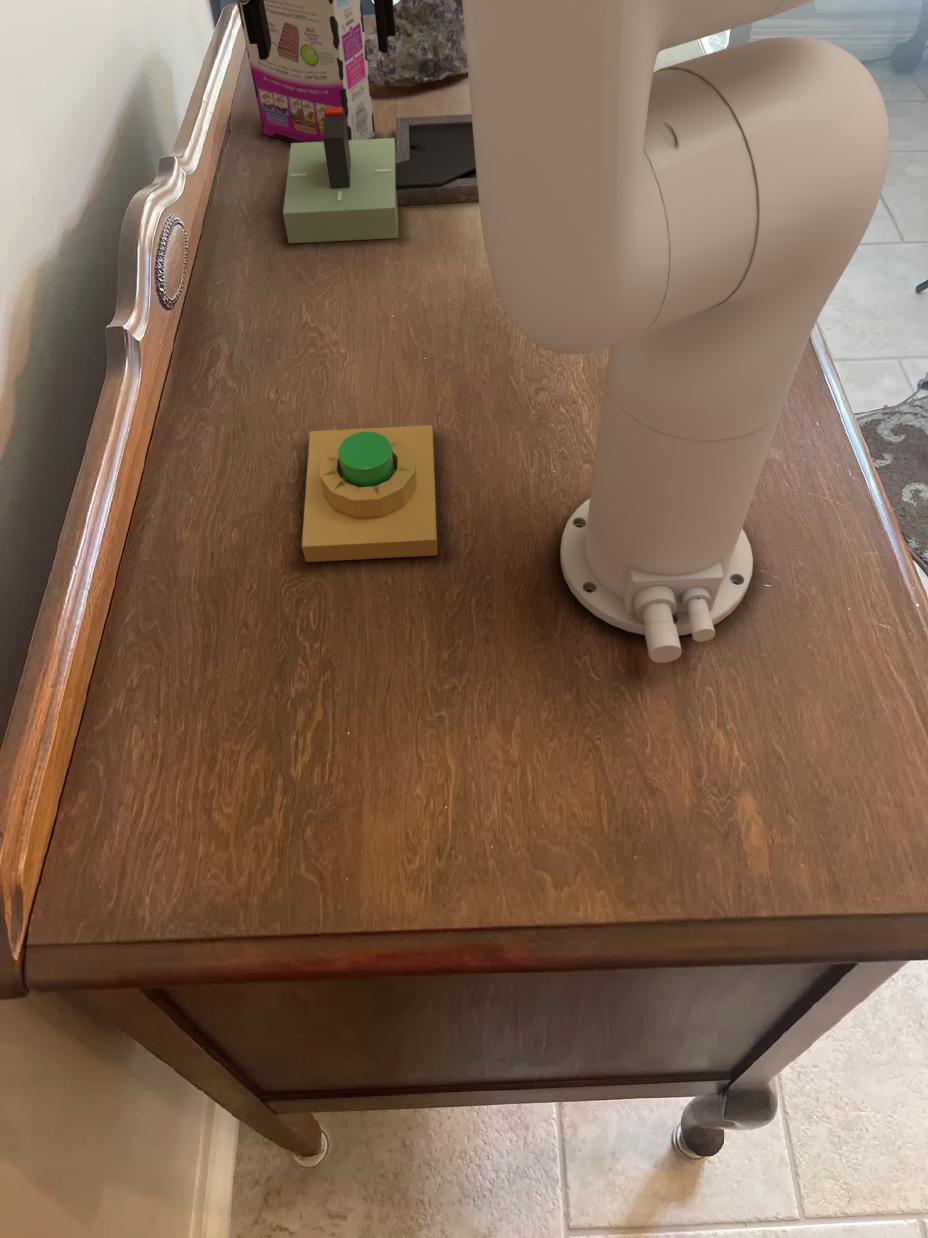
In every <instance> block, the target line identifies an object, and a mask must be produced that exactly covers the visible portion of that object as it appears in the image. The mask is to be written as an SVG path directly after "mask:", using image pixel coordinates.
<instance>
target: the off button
mask: <svg viewBox="0 0 928 1238" xmlns="http://www.w3.org/2000/svg"><path fill="white" fill-rule="evenodd" d="M338 455H339V460H340V466H341V471H342V475H343V477H344V478H345V479H346V480H347V481H348V482H349V483H351V484H353V485H355V486H359V487H372V486H376V485H379V484H381V483H383V482H385V481H386V480H387V479H388V478H389V477H390V476H391V474H392V472H393V469H394V463H393V455H392V447H391V444H390V442H389V441H388V439H387V438H385V437H384V436H383V435H381V434H378V433H375V432H360V433H356V434H353V435H351V436H349V437H348V438H346V439H345V440H344V441H343V442H342V443H341V445H340V447H339V451H338Z"/></svg>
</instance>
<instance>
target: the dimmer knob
mask: <svg viewBox="0 0 928 1238" xmlns="http://www.w3.org/2000/svg"><path fill="white" fill-rule="evenodd" d="M323 142H324V149H325V155H326V162H327V169H328V175H329V182H330V188H345V187H350V171H351V156H350V148H349V140H348V132H347V125H346V117H345V110H344V109H343V108H342V107H331V108H326V110H325V113H324V129H323Z"/></svg>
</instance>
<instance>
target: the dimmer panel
mask: <svg viewBox="0 0 928 1238" xmlns="http://www.w3.org/2000/svg"><path fill="white" fill-rule="evenodd" d="M349 148H350V156H351V171H350V187H345V188H330V182H329V175H328V169H327V162H326V155H325V149H324V142H305V143H295V142H291V143H290V148H289V149H290V150H289V158H288V164H287V165H288V166H287V175H286V183H285V192H284V200H283V207H282V216H283V221H284V226H285V233H286V236H287V241H288V244H308V243H327V242H345V241H347V242H348V241H364V240H365V241H366V240H367V241H368V240H387V239H398V238H399V212H398V211H399V209H398V208H399V207H398V206H399V205H398V202H397V191H396V137H388V138H373V139H365V140H349Z"/></svg>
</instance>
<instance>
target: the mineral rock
mask: <svg viewBox="0 0 928 1238" xmlns="http://www.w3.org/2000/svg"><path fill="white" fill-rule="evenodd" d="M393 6H394V17H395V31H396V36H390V37H388V53H381V51H379V48H378V38H377V28H376V26H375V27H374V28H373V30H372V32H370V33H369V34H368V35H367V36H365V43H366V52H367V60H368V71H369V81H370V86H374V87H391V88H399V87H401V88H402V87H403V88H406V87H415V86H418V85H421V84H427V83H430V82H436V81H439V80H440V81H442V80H443V79H445V78H446V77H447V78H450V77H453V76H459V75H464V74H468V64H467V52H466V40H465V28H464V16H463V3H462V0H398V2H396V3H393Z"/></svg>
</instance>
